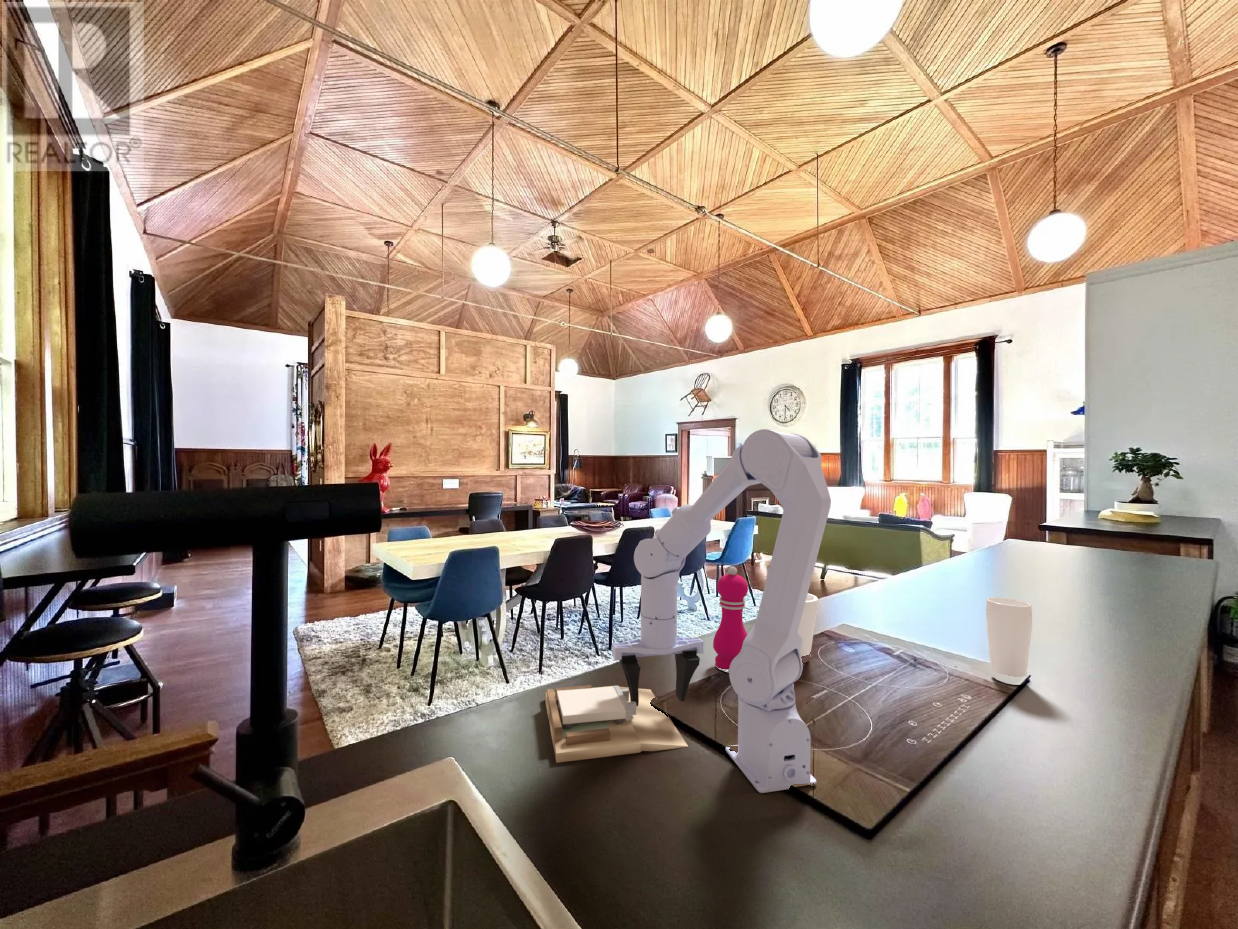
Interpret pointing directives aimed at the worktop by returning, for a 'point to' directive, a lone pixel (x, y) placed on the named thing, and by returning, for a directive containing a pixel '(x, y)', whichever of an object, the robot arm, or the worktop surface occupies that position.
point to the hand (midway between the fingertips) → (657, 701)
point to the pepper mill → (730, 618)
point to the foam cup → (808, 624)
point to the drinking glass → (1009, 635)
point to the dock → (611, 731)
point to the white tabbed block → (594, 705)
